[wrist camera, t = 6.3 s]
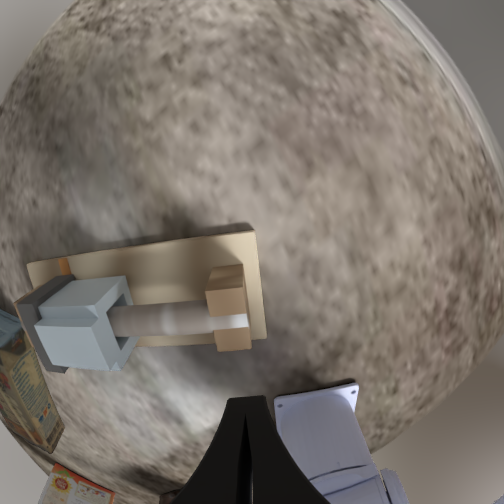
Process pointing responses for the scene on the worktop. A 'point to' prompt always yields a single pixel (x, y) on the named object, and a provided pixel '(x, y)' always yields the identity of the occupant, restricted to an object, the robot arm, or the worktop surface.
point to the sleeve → (85, 325)
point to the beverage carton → (25, 389)
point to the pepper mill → (168, 497)
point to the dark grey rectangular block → (32, 316)
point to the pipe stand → (176, 289)
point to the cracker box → (73, 489)
